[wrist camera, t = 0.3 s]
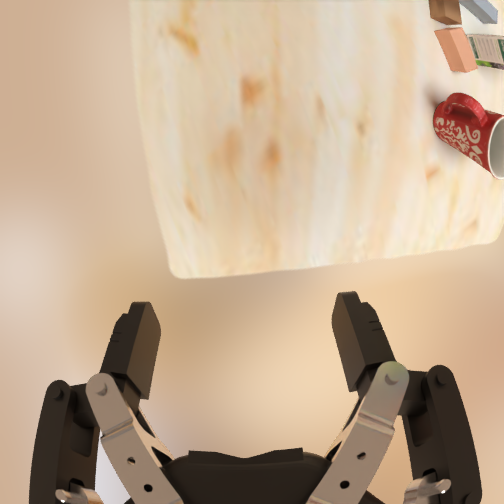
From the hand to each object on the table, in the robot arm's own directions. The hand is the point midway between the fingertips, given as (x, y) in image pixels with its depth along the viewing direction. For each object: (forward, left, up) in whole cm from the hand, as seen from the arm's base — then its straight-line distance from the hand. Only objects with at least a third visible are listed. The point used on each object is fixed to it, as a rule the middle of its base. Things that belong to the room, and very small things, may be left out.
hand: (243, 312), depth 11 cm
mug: (-7, +32, -29) cm, 44 cm away
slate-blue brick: (-31, +40, -29) cm, 58 cm away
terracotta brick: (-19, +33, -29) cm, 48 cm away
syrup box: (-22, +41, -29) cm, 55 cm away
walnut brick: (-27, +31, -29) cm, 50 cm away
